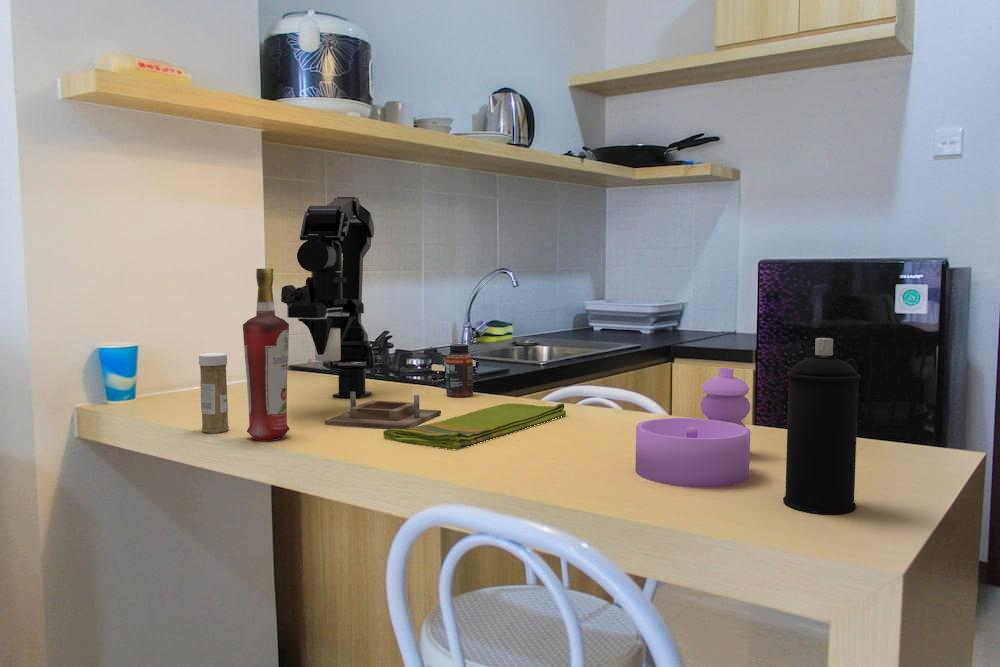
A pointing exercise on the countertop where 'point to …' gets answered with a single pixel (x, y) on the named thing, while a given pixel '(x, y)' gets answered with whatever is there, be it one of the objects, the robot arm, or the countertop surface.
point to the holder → (383, 414)
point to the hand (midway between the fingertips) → (327, 353)
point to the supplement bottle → (459, 371)
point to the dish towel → (477, 425)
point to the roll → (331, 347)
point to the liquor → (266, 365)
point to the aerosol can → (821, 433)
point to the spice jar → (213, 392)
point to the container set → (700, 440)
